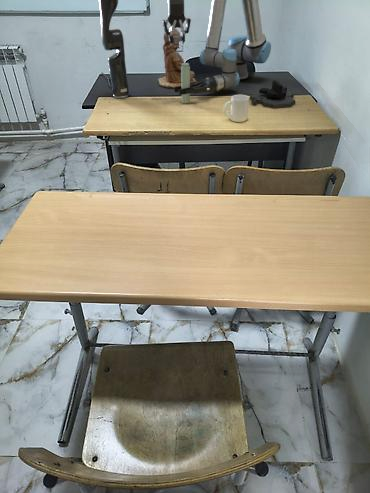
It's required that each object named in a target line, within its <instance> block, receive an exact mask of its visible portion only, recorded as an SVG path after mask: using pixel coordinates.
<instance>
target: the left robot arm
mask: <svg viewBox="0 0 370 493" xmlns="http://www.w3.org/2000/svg"><path fill="white" fill-rule="evenodd" d="M98 2H99V12H100V30H101V32H100V33H101V35H100V36H101V43H102V47H103V49H104V50H105V51H115V52H114V53H113V54H112V55H110V56H109V57H108V58H107V64H108V70H109V75H110V78H109V76H108V75H106V74H105V73H104V72H101V73H100V76H102V75H103V77H105V78H106V79H107V83H108V86H109V87H110V88H111V89H112V97H113V98H114V99H125V98H128V97H130V90H129V89H130V88H129V82H128V81H129V79H128V74H127V66H126V65H127V64H126V53H125V52H126V51H125V40H124V35H123V32H122V30H121V29H119V28H114V29H110V25H111V21H112V18H113V16H114V14H115V13H116V11H117V7H118V5H119V0H98ZM167 8H168V9H167V13H168V14H167V15H168V16H167V18H166V19H162V20H161V23H162V26H163V30H164V33H165V34H167V35H169V42H170V43H171V45H173V36H172V34H173V31H174V28H175V29H179V30H180V36H182V41H181V44H183V45H184V44H185V42H186V34H189V33H190V27H191V22H192V19H191V18H189V17H188V18H187V17H186V16H185V0H167ZM184 23H185V27H184ZM168 24H169V27H168ZM169 28H170V30H169V32H168V29H169Z"/></svg>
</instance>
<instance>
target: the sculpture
mask: <svg viewBox="0 0 370 493" xmlns="http://www.w3.org/2000/svg"><path fill="white" fill-rule="evenodd" d="M169 30H170V27H168V32H169ZM172 36H181V32H179V30H178V28H174V31H173V34H172ZM163 40H164V44H163V45H162V50H163V61H164V71H165V73H164V75H165V76H163V77H159V78H158V79H157V80H158V84H159V86H161V87H163V88H168V89H169V88H174V87H177V86H181V67H182V63H185V60H184V58H183V57H182V56H183V55H180V53H179V52H178V51H177V50H178V49H179V46H180V42H173V45H171V43H170V42H169V35H167V34H165V32H164V33H163ZM195 76H196V74H195V72H194V71H192V70H190V82H194V81H197V79H195Z"/></svg>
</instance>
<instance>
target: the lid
mask: <svg viewBox="0 0 370 493" xmlns="http://www.w3.org/2000/svg"><path fill="white" fill-rule="evenodd" d="M181 41H182V36H181V35H180V36H173V42H179V43H180V42H181Z"/></svg>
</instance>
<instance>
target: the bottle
mask: <svg viewBox="0 0 370 493" xmlns="http://www.w3.org/2000/svg"><path fill="white" fill-rule="evenodd" d="M190 71H191V67H190V63H189V62H184V63H182V67H181V88H182V89H184V88H189V87H190ZM190 103H191V93H188V94H183V95H181V104H190Z"/></svg>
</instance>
